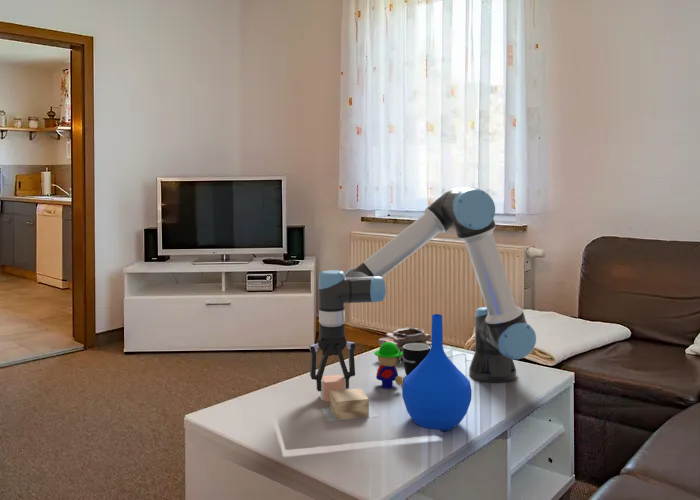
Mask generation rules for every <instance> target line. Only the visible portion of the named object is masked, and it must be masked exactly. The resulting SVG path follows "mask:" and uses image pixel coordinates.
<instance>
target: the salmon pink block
mask: <svg viewBox="0 0 700 500" xmlns="http://www.w3.org/2000/svg"><path fill="white" fill-rule="evenodd" d="M343 377H344V376H342V374H334V375H323V376H322V379H323V381H324V400H323V401H324V402H325V403H326V402H330V391H336V390H345V380H344V379H343Z"/></svg>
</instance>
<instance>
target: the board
mask: <svg viewBox="0 0 700 500" xmlns="http://www.w3.org/2000/svg"><path fill="white" fill-rule="evenodd" d="M320 409H321V411H322V413H323V416H324V418H325V419H326V422H335V421H336V422H337V421H347V420H359V419H369V418H378V417H379V415H378V414H377V413H376V412H375V410H374V409H373V407H372V406H371V405H370V403H369V417H361V418H350V419H340V420H336V418H335V416H334V414H333V413H332V411H331V409H330V407H321V408H320Z"/></svg>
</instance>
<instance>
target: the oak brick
mask: <svg viewBox="0 0 700 500" xmlns="http://www.w3.org/2000/svg"><path fill="white" fill-rule="evenodd" d="M369 401H370V399H369V397H368V396H367V395H366V393H365V392H364V390H363V389H362V388H349V389H346V390H336V391H330V401H329V408H330V409H331V411H332V413H333V414H334V416H335V418H336V420H339V421H341V420H340V419H349V420H351V419H350V418H360V419H362V418H361V417H369V404H370V403H369Z"/></svg>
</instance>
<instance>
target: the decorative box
mask: <svg viewBox="0 0 700 500" xmlns="http://www.w3.org/2000/svg"><path fill="white" fill-rule="evenodd" d="M425 332H426V331H425V329H423V328H419V327H410V326H409V327H404V328H402V327H401V328H398V329H394V330H393V331H392V332H391V333H390V332H388V333H385V335H384V337H382V338H379V339H378V341H377V345H379V346H380V347H381V345H382V344H384V343H385V342H392V343H394V344H395V345H396V346H397V348H398V350H400V349H401V347H402V352H403V346H404V345H406V344H410V343H421V344H426V345H429V346H430V349H431V342H429V341H430V340H431V334H429V333H425ZM402 360H403V355H402Z"/></svg>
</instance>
